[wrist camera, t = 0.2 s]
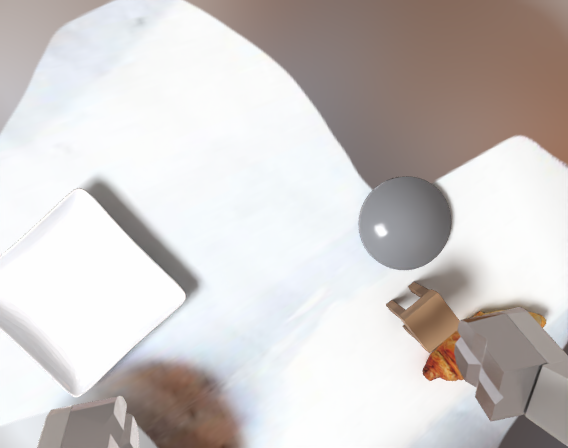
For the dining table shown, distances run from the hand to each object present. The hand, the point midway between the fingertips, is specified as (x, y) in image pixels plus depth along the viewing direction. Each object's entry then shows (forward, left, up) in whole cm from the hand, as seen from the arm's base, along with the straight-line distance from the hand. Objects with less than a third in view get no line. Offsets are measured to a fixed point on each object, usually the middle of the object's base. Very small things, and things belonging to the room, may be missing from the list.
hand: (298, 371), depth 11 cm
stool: (-27, -11, -54) cm, 61 cm away
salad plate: (+6, +24, -55) cm, 60 cm away
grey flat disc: (-16, -18, -54) cm, 59 cm away
